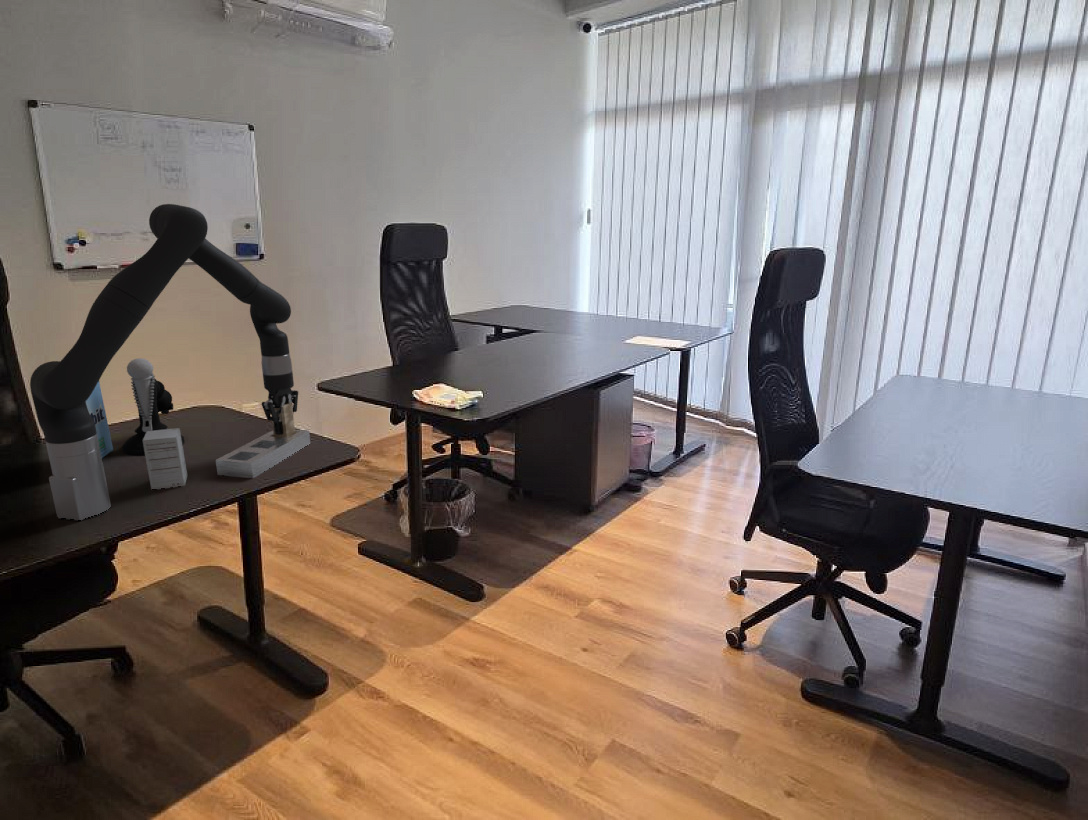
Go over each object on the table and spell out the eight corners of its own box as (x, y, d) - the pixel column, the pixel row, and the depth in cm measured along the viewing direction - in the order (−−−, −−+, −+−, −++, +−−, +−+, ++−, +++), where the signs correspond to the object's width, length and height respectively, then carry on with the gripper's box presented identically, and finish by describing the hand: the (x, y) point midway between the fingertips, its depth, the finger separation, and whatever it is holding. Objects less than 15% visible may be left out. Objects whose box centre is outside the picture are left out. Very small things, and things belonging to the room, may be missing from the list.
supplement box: (154, 479, 172) (146, 430, 168) (188, 475, 174) (180, 427, 171) (150, 490, 165) (141, 440, 162) (185, 486, 168) (177, 436, 164)
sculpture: (115, 457, 187) (97, 365, 180) (140, 430, 209) (125, 348, 202) (177, 452, 191) (163, 362, 184) (195, 426, 213) (183, 345, 206)
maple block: (287, 442, 191) (283, 406, 188) (274, 441, 192) (270, 405, 189) (295, 437, 195) (292, 402, 192) (282, 436, 196) (278, 402, 193)
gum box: (80, 476, 174) (61, 386, 168) (57, 477, 174) (38, 387, 167) (114, 449, 193) (98, 368, 186) (94, 450, 192) (77, 369, 186)
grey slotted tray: (253, 478, 172) (251, 463, 171) (217, 475, 175) (215, 459, 174) (310, 444, 197) (309, 430, 196) (278, 441, 199) (277, 428, 198)
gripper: (274, 377, 180) (281, 441, 185) (304, 365, 194) (310, 425, 198) (248, 376, 182) (256, 439, 187) (280, 364, 195) (287, 423, 200)
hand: (284, 431), depth 193 cm, fingers closed on maple block, 4 cm apart
